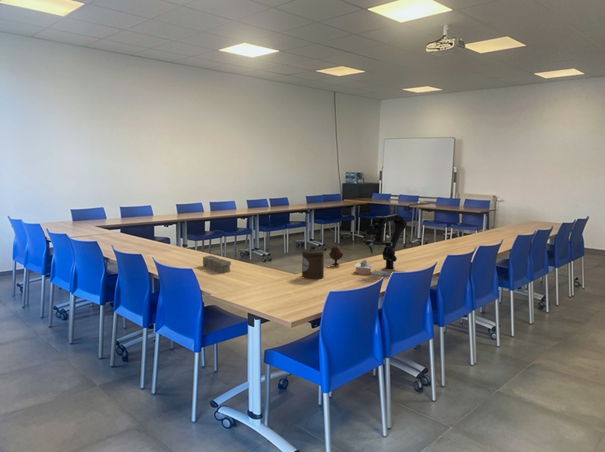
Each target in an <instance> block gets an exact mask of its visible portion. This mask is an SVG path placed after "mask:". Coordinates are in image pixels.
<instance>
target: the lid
mask: <svg viewBox="0 0 605 452" xmlns="http://www.w3.org/2000/svg"><path fill="white" fill-rule="evenodd" d="M367 261H368V260H365V259H362V261H360V262H358V263H355V265H353V268H355V269H356V268H366V269H370V268H371V269H372V267H374V264H370V263H368V262H367Z"/></svg>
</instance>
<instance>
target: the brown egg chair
mask: <svg viewBox="0 0 605 452" xmlns="http://www.w3.org/2000/svg"><path fill="white" fill-rule="evenodd" d="M341 251H342V250H341V249H340V248H339V247H338V246H336V245H333V246H332V247H331V248H330V252H328V255H329V257H330V258H331V259H332V260H333V261H334V263H332V266H334V267H337V266H336V265H339V266H340V264H339V263H338V261H339V260H340V259H342V258H343V256H344V253H343V252H341Z"/></svg>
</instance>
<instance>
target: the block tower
mask: <svg viewBox="0 0 605 452" xmlns="http://www.w3.org/2000/svg"><path fill="white" fill-rule="evenodd" d="M231 265H232V262H231V261H230V260H226V259H223V258H220V257H217V256H215V255H205V256H203V257H202V267H203V268H206V269H209V270H211V271H214V272H217V273H219V274H223V273H224V274H225V273H230V272H231Z"/></svg>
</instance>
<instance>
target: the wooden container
mask: <svg viewBox="0 0 605 452" xmlns="http://www.w3.org/2000/svg"><path fill="white" fill-rule="evenodd" d="M301 253H302V259H301V260H302V261H301V277H302V278H303V277H304V279H307V280H320V279H323V278H324V277H325V276H324V274H325V273H324V272H325V268H324V267H325V266H324V265H325V263H324V260H325V259H324V257H325V256H324V254H325V252H324V250H323V249H317V248H316V245H315V244H312V245H311V246H310V248H307V249H306V248H305V249H303V250H302V252H301Z"/></svg>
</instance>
